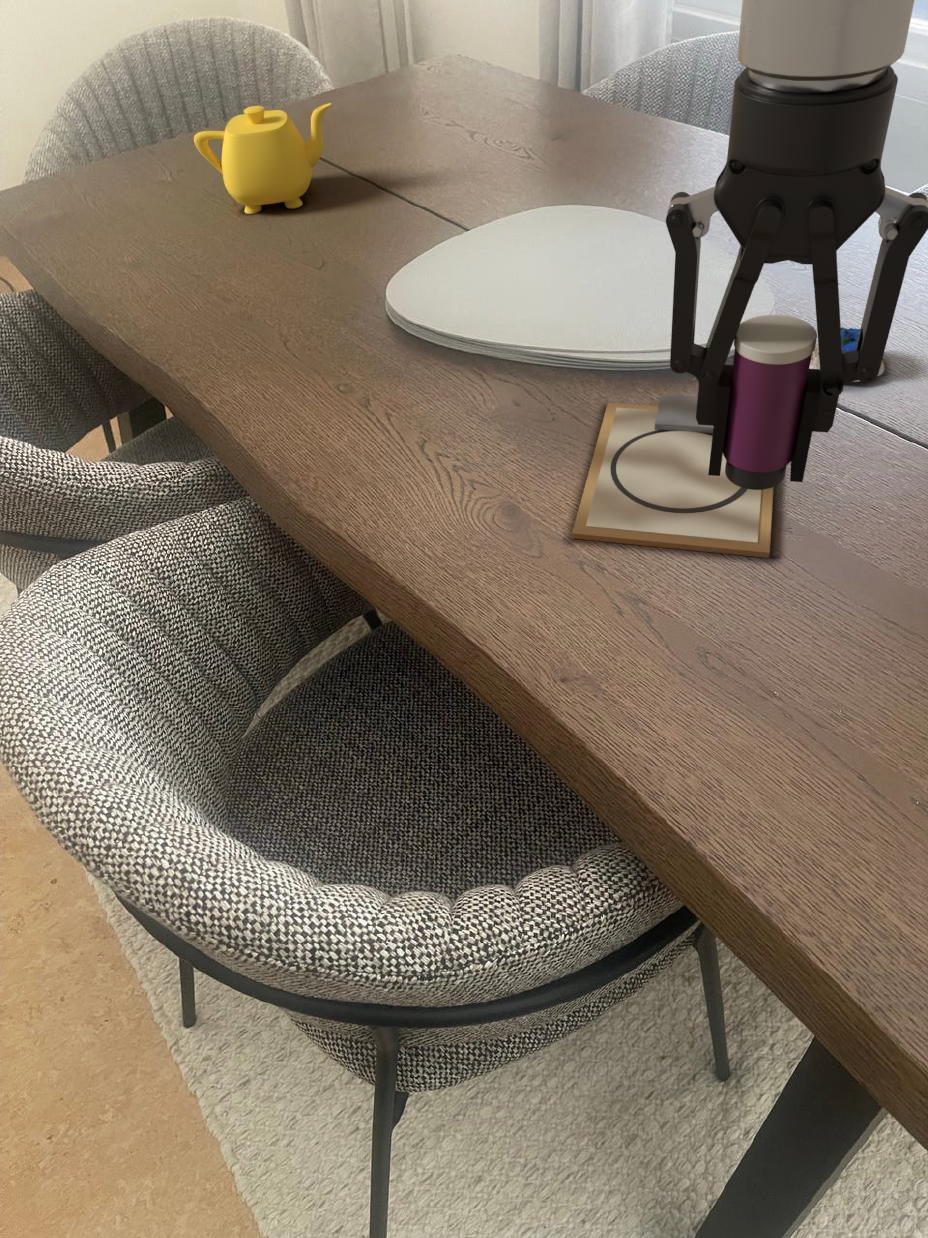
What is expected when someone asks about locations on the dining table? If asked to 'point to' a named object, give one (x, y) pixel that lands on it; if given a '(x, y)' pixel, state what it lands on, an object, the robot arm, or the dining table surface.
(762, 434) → the cylinder
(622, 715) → the dining table surface
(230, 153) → the teapot
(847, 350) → the dessert
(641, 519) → the sketch board
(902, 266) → the robot arm
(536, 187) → the dining table surface
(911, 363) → the dining table surface
